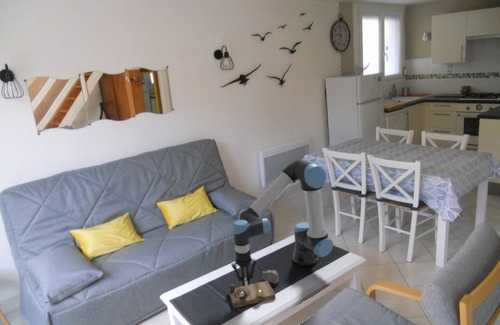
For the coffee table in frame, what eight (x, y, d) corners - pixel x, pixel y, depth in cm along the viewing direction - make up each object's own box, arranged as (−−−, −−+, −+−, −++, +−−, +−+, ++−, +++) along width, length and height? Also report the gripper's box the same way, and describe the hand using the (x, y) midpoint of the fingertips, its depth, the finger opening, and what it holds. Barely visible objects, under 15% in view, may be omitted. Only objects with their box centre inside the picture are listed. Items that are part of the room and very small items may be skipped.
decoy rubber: (235, 287, 204) (234, 281, 203) (236, 291, 200) (235, 285, 199) (228, 289, 203) (228, 283, 202) (230, 292, 199) (229, 287, 198)
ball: (245, 290, 200) (239, 290, 198) (247, 295, 196) (240, 294, 195) (243, 296, 200) (237, 295, 199) (244, 300, 197) (238, 299, 196)
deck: (267, 284, 208) (267, 280, 207) (275, 298, 196) (275, 294, 195) (228, 293, 203) (228, 289, 202) (233, 308, 191) (233, 303, 190)
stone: (283, 279, 212) (283, 270, 210) (274, 286, 206) (273, 277, 205) (270, 273, 218) (269, 264, 217) (261, 279, 213) (260, 270, 212)
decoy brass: (261, 293, 197) (261, 287, 196) (263, 297, 193) (263, 291, 192) (255, 295, 196) (254, 289, 195) (257, 299, 193) (256, 293, 192)
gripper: (253, 244, 196) (256, 283, 203) (228, 249, 193) (232, 289, 200) (257, 251, 189) (260, 291, 196) (231, 256, 186) (235, 297, 193)
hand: (246, 290), depth 198 cm, fingers closed
